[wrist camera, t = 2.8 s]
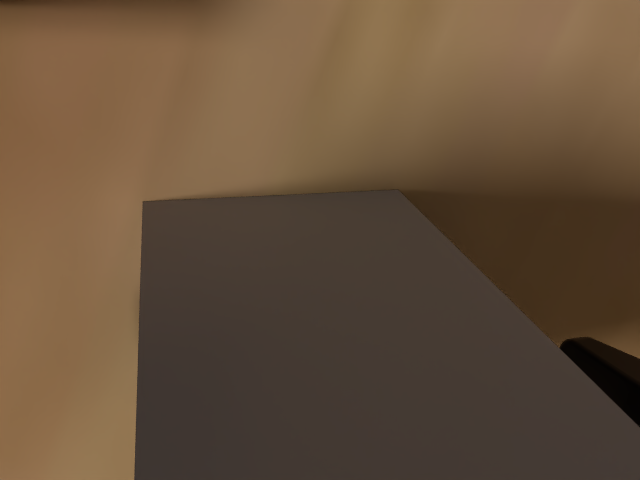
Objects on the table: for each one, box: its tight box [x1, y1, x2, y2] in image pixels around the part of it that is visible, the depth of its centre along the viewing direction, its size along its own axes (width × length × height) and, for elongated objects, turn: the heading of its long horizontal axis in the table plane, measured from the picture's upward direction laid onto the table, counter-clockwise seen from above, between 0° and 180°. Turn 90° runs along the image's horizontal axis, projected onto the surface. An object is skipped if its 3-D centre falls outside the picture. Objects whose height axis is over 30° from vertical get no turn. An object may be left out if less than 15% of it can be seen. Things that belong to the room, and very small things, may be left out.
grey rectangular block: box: [134, 190, 640, 480], centre depth 7 cm, size 4×4×8 cm
